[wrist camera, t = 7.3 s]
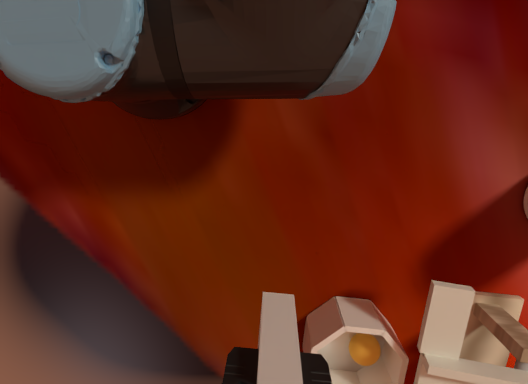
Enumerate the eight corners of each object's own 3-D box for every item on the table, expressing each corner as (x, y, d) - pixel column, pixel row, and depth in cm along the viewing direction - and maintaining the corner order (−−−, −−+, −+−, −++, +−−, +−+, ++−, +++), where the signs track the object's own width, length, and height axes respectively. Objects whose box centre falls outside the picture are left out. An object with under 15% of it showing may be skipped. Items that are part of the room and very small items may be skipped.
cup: (309, 293, 49) (315, 322, 43) (395, 302, 49) (414, 333, 43) (299, 367, 52) (303, 406, 45) (380, 376, 52) (396, 416, 45)
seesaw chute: (646, 303, 39) (708, 340, 33) (595, 446, 43) (641, 503, 37) (424, 268, 43) (441, 295, 36) (395, 404, 47) (406, 449, 40)
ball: (345, 327, 49) (360, 346, 45) (372, 325, 50) (389, 343, 46) (341, 353, 50) (355, 374, 46) (367, 351, 51) (383, 371, 47)
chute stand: (519, 295, 49) (584, 345, 38) (488, 405, 52) (541, 477, 42) (450, 288, 49) (497, 336, 38) (425, 398, 52) (461, 469, 42)
